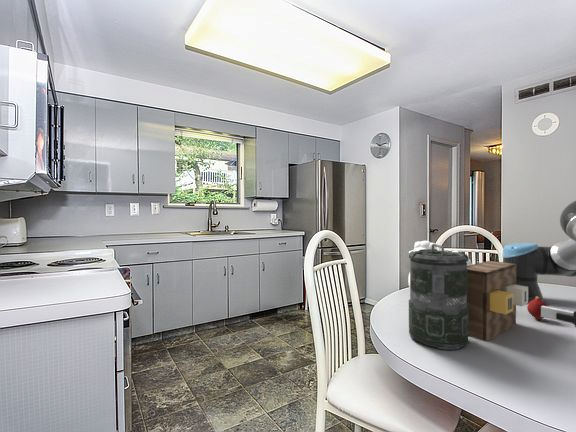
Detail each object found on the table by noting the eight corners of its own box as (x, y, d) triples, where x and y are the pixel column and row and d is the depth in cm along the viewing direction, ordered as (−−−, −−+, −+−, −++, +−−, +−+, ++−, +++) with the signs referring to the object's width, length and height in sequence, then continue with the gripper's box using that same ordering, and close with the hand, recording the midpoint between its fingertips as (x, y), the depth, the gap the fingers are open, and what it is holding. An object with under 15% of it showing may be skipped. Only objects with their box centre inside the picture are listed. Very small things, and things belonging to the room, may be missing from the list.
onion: (544, 317, 106) (544, 295, 106) (552, 323, 101) (552, 299, 101) (524, 316, 108) (524, 293, 108) (531, 321, 103) (531, 298, 103)
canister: (401, 328, 98) (401, 242, 98) (451, 328, 98) (451, 241, 97) (421, 351, 83) (421, 248, 82) (480, 351, 82) (481, 247, 81)
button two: (493, 306, 93) (494, 289, 93) (514, 311, 89) (514, 293, 89) (486, 309, 90) (486, 292, 90) (506, 314, 86) (506, 296, 86)
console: (489, 317, 108) (489, 260, 107) (515, 324, 101) (516, 263, 101) (458, 332, 95) (458, 268, 94) (486, 341, 88) (486, 272, 88)
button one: (509, 299, 100) (509, 283, 100) (528, 303, 96) (529, 286, 96) (503, 302, 97) (503, 286, 97) (522, 306, 93) (522, 289, 93)
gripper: (684, 370, 59) (533, 330, 78) (688, 351, 66) (549, 319, 85) (685, 331, 58) (533, 301, 78) (689, 317, 66) (549, 293, 85)
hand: (542, 311), depth 82 cm, fingers closed
